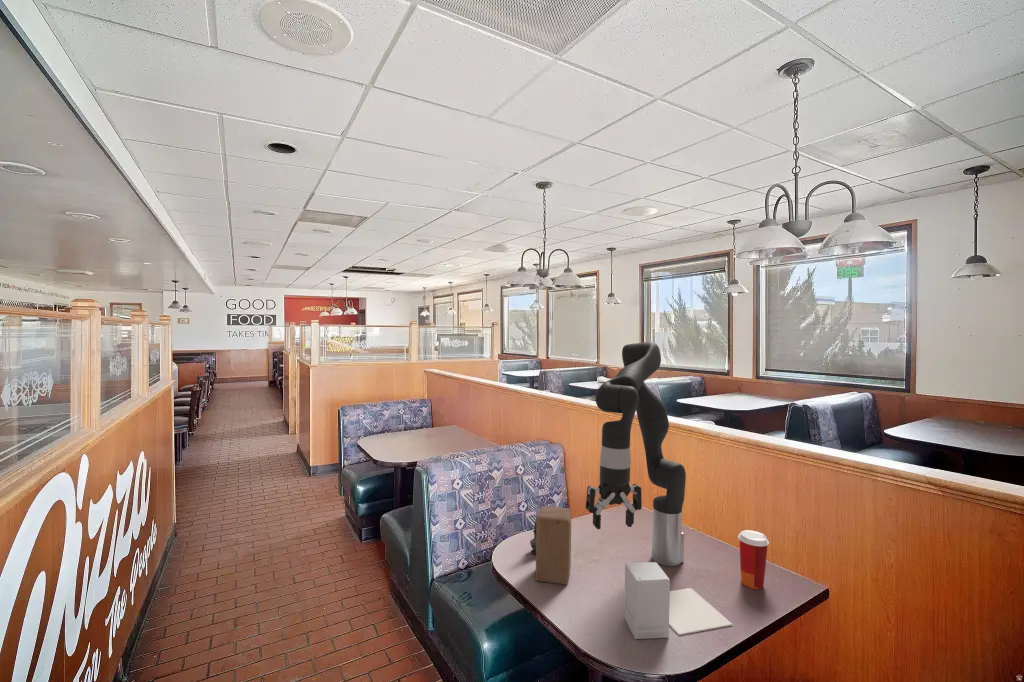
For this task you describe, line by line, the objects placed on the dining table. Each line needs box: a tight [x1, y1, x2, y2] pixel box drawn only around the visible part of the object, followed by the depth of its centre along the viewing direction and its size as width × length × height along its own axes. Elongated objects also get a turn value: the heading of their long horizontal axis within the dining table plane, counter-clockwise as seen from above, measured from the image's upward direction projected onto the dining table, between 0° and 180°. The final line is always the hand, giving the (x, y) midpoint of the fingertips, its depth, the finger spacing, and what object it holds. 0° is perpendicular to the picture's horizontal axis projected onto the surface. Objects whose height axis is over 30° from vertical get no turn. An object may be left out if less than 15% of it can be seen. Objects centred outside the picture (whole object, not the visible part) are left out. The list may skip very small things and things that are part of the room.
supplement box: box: [623, 561, 671, 640], centre depth 119 cm, size 9×9×15 cm
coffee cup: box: [737, 529, 770, 590], centre depth 139 cm, size 8×8×15 cm
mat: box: [669, 587, 733, 636], centre depth 126 cm, size 16×17×1 cm
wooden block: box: [535, 505, 573, 585], centre depth 143 cm, size 10×10×20 cm
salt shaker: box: [529, 520, 537, 557], centre depth 157 cm, size 6×6×12 cm
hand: (613, 526), depth 117 cm, fingers open, 8 cm apart
